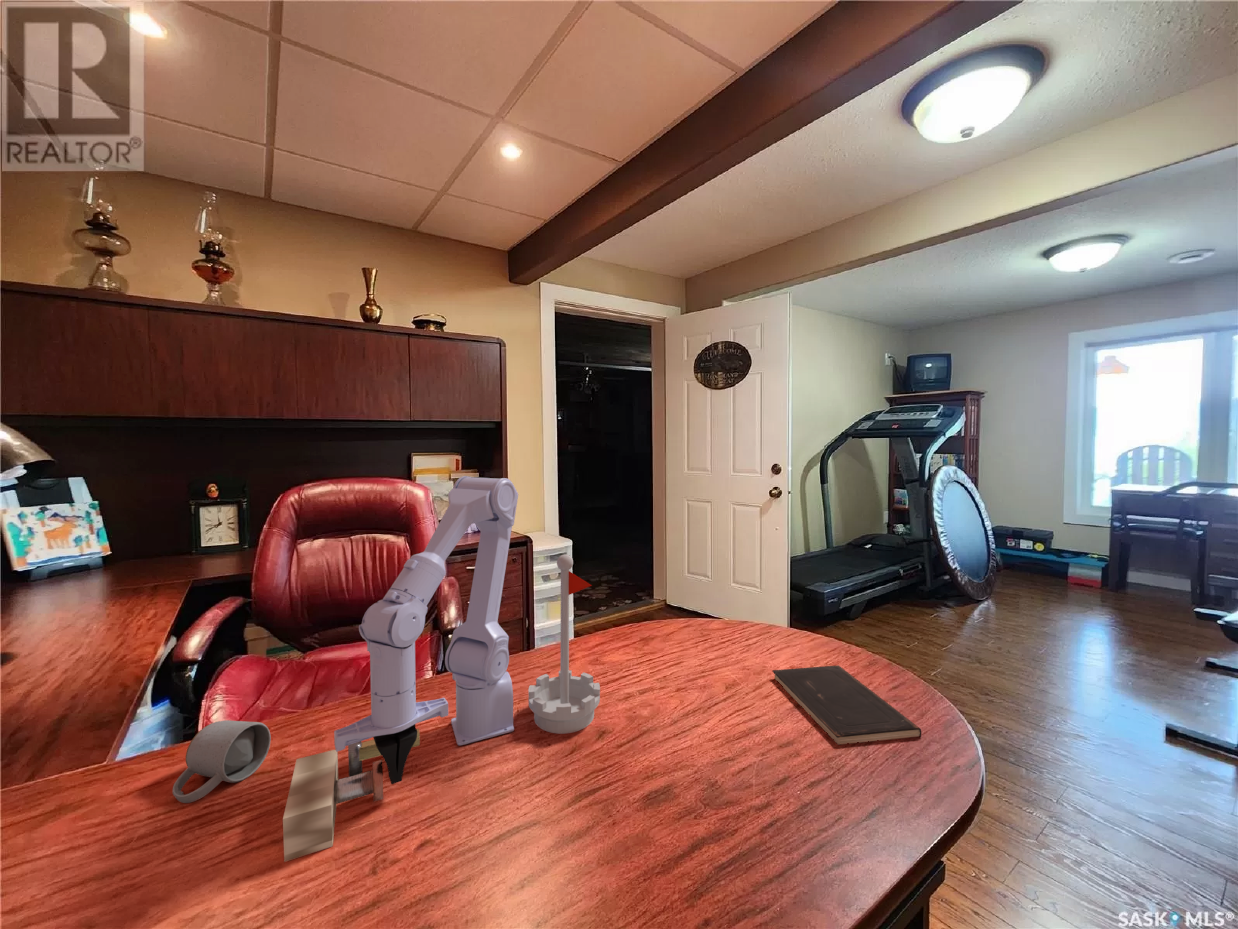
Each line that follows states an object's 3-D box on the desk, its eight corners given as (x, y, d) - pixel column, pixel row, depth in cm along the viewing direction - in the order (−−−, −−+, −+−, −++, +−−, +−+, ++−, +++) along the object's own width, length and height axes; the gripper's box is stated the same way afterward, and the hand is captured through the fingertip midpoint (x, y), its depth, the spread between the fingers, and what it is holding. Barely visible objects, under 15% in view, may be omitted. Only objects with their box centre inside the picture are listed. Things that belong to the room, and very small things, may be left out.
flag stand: (515, 729, 85) (514, 560, 83) (547, 692, 97) (547, 544, 96) (584, 743, 81) (585, 567, 79) (609, 703, 94) (610, 549, 92)
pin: (382, 784, 70) (382, 752, 70) (383, 807, 66) (382, 773, 66) (314, 803, 67) (313, 770, 66) (311, 829, 62) (309, 793, 62)
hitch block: (338, 784, 71) (337, 749, 71) (332, 846, 60) (331, 804, 60) (297, 795, 69) (296, 759, 69) (284, 862, 58) (282, 819, 58)
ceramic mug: (230, 752, 78) (228, 706, 78) (273, 759, 76) (270, 713, 76) (156, 802, 68) (152, 749, 67) (203, 811, 66) (199, 758, 65)
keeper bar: (419, 752, 78) (418, 725, 78) (420, 759, 77) (419, 731, 76) (349, 771, 74) (348, 742, 74) (348, 779, 72) (347, 749, 72)
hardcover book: (836, 749, 81) (837, 735, 81) (772, 680, 104) (772, 670, 104) (921, 740, 84) (922, 727, 84) (840, 675, 106) (840, 665, 106)
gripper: (438, 661, 76) (439, 745, 76) (330, 689, 67) (333, 783, 68) (452, 680, 70) (453, 770, 71) (336, 712, 61) (339, 815, 62)
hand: (395, 778), depth 69 cm, fingers closed
